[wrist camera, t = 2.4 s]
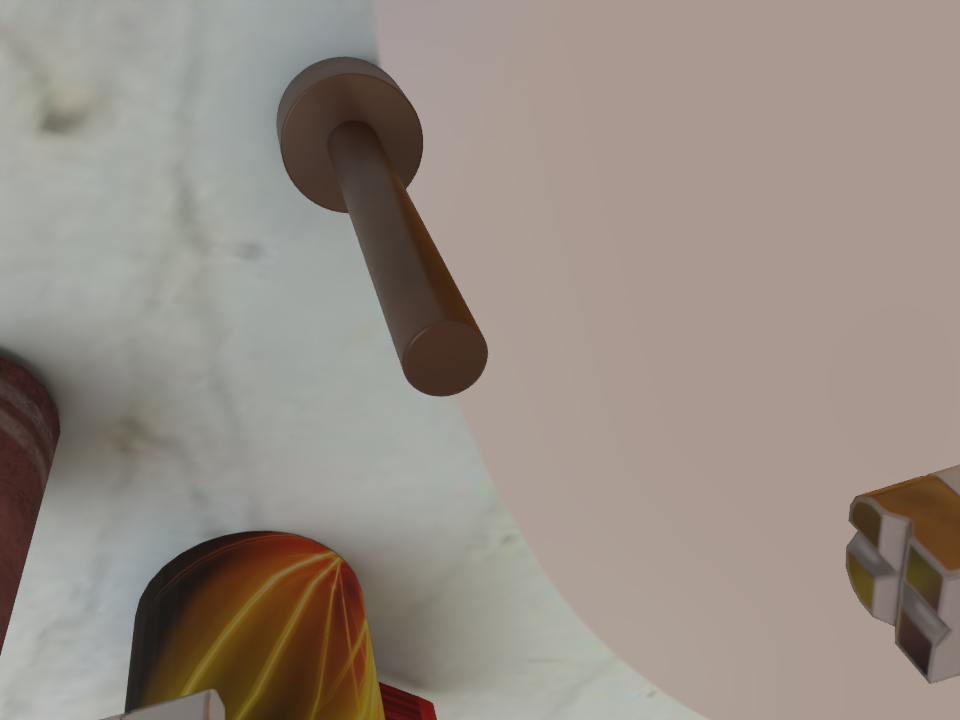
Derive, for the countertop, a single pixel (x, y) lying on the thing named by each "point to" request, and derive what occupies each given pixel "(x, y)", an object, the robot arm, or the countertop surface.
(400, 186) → the disc-capped wooden dowel
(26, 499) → the can
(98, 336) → the countertop surface
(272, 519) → the countertop surface
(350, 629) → the mug
